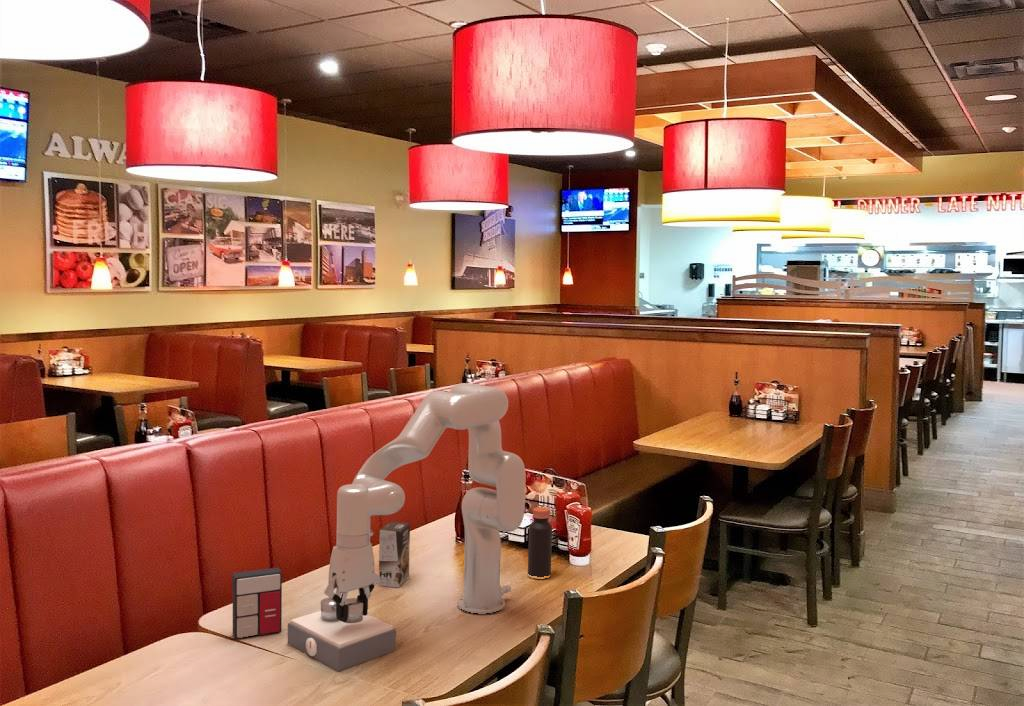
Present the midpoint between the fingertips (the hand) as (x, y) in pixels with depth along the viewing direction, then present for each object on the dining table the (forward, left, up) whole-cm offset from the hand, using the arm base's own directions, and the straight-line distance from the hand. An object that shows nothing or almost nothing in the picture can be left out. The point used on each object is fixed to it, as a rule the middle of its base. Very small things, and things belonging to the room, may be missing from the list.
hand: (352, 616), depth 199 cm
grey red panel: (+10, -24, -9) cm, 27 cm away
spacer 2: (0, 0, -1) cm, 1 cm away
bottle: (-71, -5, -9) cm, 72 cm away
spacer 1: (0, -8, -3) cm, 8 cm away
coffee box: (-37, -30, -9) cm, 49 cm away
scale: (0, -4, -9) cm, 9 cm away
